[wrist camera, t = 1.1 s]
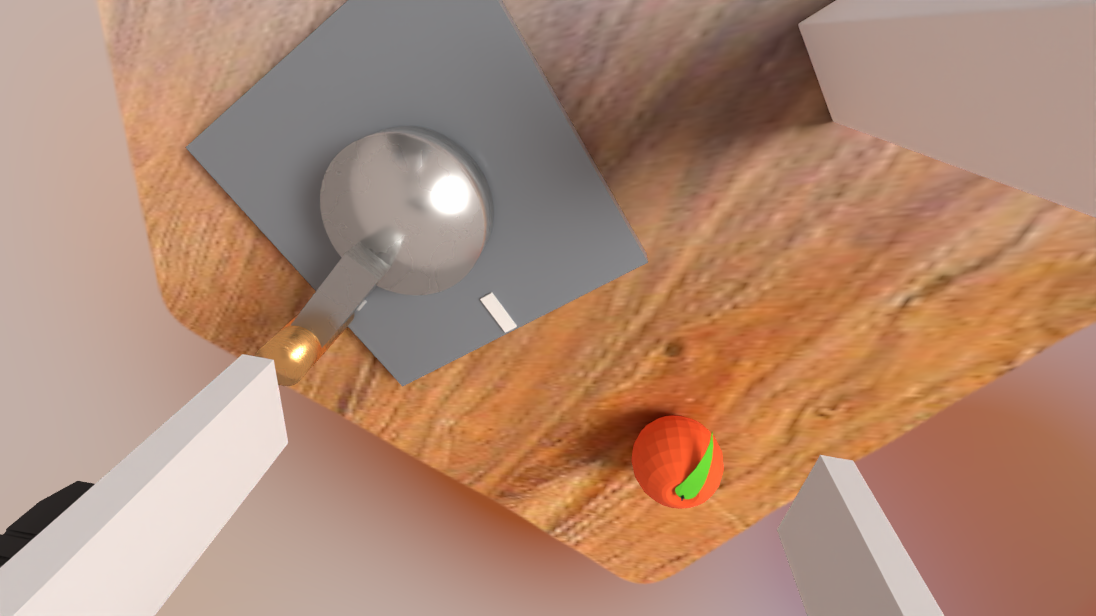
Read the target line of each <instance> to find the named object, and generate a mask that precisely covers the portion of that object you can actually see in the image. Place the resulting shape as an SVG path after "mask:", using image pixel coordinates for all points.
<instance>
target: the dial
mask: <svg viewBox="0 0 1096 616" xmlns="http://www.w3.org/2000/svg"><path fill="white" fill-rule="evenodd" d="M320 208H321V215H322V220H323V224H324V227H325V229H326V232H327V234H328V237H329V239H330V241H331V243H332V244H333V246H334V248H335V249H336V251H337V252H338V254H339V255H340V256H341V257H342V258H341V260H340V261H339V262H338V263H337V265H336V266H335V267H334V269H333V270H332V271H331V273H330V274H329V275H328V277H327V278H326V279H325V280H324V282H323V283H322V284H321V286H320V287H319V288H318V290H317V291H316V292H315V294H314V295H313V296H312V298H311V299H310V300H309V301H308V303H307V304H306V305H305V307H304V308H303V309H302V311H301V312H300V313H299V314H298V315H297V316H296V317H294V318H293V319H292V320H291V321H290V322H289V323H288V324H287V325H286V326H285V327H283V328H282V329H281V330H280V331H279V332H278V333H277V334H276V335H275V336H273V337H272V338H271V339H270V340H269V341H268V342H267V343H266V344H265V345H263V346H262V347H261V348H260V349H259V350H258V351H257V353H256V354H255V357H261V358H267V359H272V360H274V364H275V370H276V376H277V382H278V385H283V386H291V385H294V384H296V383H298V382H299V381H300V380H301V379H302V378H303V376H304V375H305V374H306V373H307V372H308V371H309V370H310V369H311V367H312V366H313V365H314V364H315V363H316V362H317V361H318V360H319V358H320V357H321V356H322V355H323V354H324V353H325V352H326V350H327V349H328V348H329V347H330V346H331V345H332V344H333V343H334V341H335V340H336V339H337V338H338V337H339V336H340V335H341V334H342V332H343V331H344V330H345V329H346V328H347V327H348V326H349V325H350V323H351V322H352V321H353V319H354V312H355V311H356V310H357V309H358V307H359V306H360V305H361V304H362V303H363V302H364V300H365V299H366V298H367V297H368V296H369V294H370V293H371V292H372V291H373V290H374V288H375V287H376V286H378V287H381V288H383V289H385V290H388V291H392V292H395V293H399V294H405V295H428V294H434V293H437V292H441V291H444V290H446V289H448V288H450V287H452V286H454V285H455V284H457V283H458V282H459V281H461V280H462V279H463V278H464V277H465V276H466V275H467V274H468V273H469V271H470V270H471V269H472V268H473V266H474V264H475V263H476V261H477V259H478V257H479V256H480V254H481V252H482V250H483V249H484V247H485V245H486V243H487V241H488V239H489V236H490V234H491V230H492V226H493V218H494V207H493V200H492V194H491V191H490V188H489V185H488V182H487V180H486V178H485V176H484V174H483V172H482V170H481V169H480V167H479V166H478V164H477V163H476V162H475V160H474V159H473V158H472V157H471V156H470V155H469V153H468V152H467V151H466V150H465V149H463V148H462V147H461V146H460V145H459V144H457V143H456V142H455V141H453V140H451V139H450V138H448V137H447V136H445V135H443V134H441V133H438V132H436V131H433V130H430V129H427V128H423V127H417V126H395V127H391V128H387V129H383V130H381V131H379V132H376V133H374V134H371V135H369V136H367V137H364V138H362V139H359V140H357V141H355V142H353V143H351V144H350V145H348V146H347V147H345V148H344V149H343V150H342V151H341V152H339V153H338V154H337V155H336V157H335V158H334V159H333V160H332V162H331V163H330V165H329V167H328V169H327V170H326V173H325V175H324V178H323V181H322V186H321V191H320Z"/></svg>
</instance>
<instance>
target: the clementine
mask: <svg viewBox="0 0 1096 616" xmlns="http://www.w3.org/2000/svg"><path fill="white" fill-rule="evenodd" d="M632 465H633V470H634V474H635V478H636V479H637V481H638V482H639V484H640V486H641V487H642V489H643V490H644V492H645V493H646V494H647V495H649V496H650V497H651V498H652V499H654V500H655V501H656V502H658V503H660V504H662V505H664V506H667V507H671V508H680V509H681V508H690V507H694V506H698V505H700V504H702V503H704V502H705V501H706V500H708V499H709V498H710V497H711V496H712V495H713V494H714V492H715V491H716V490H717V488H718V487H719V485H720V481H721V478H722V474H723V470H724V467H723V457H722V451H721V449H720V447H719V445H718V443H717V441H716V439H715V437H714V436H713V433H711V432H710V431H709V430H708V429H706V428H705V427H704V426H703V425H702V424H701V423H699V422H697V421H695V420H693V419H690V418H686V417H683V416H675V415H672V416H664V417H661V418H658V419H656V420H655V421H653V422H651V423H649V424H648V425H646V426H645V427H644V428H643V429H642V430H641V432H640V434H639V435H638V437H637V439H636V441H635V443H634V446H633V453H632Z"/></svg>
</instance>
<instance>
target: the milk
mask: <svg viewBox="0 0 1096 616" xmlns="http://www.w3.org/2000/svg"><path fill="white" fill-rule="evenodd" d="M798 26H799V29H800V32H801V35H802V37H803V40H804V43H805V46H806V48H807V51H808V54H809V57H810V59H811V62H812V65H813V68H814V71H815V73H816V76H817V79H818V82H819V84H820V87H821V90H822V93H823V96H824V98H825V101H826V104H827V107H828V109H829V112H830V115H831V118H832V120H833V122H835V123H838V124H840V125H843V126H846V127H849V128H851V129H854V130H857V131H860V132H862V133H865V134H868V135H871V136H873V137H876V138H879V139H882V140H884V141H887V142H890V143H893V144H895V145H898V146H901V147H903V148H906V149H909V150H912V151H914V152H917V153H920V154H923V155H925V156H928V157H931V158H934V159H936V160H939V161H942V162H945V163H947V164H950V165H953V166H956V167H958V168H961V169H964V170H967V171H969V172H972V173H975V174H977V175H980V176H983V177H986V178H988V179H991V180H994V181H997V182H999V183H1002V184H1005V185H1008V186H1010V187H1013V188H1016V189H1019V190H1021V191H1024V192H1027V193H1030V194H1032V195H1035V196H1038V197H1040V198H1043V199H1046V200H1049V201H1051V202H1054V203H1057V204H1060V205H1062V206H1065V207H1068V208H1071V209H1073V210H1076V211H1079V212H1082V213H1084V214H1087V215H1090V216H1093V217H1095V218H1096V0H836V1H834V2H832V3H831V4H829V5H828V6H826V7H824V8H823V9H821V10H819V11H818V12H816V13H815V14H813V15H811V16H810V17H808V18H807V19H805V20H803V21H802V22H800V23H799V24H798Z"/></svg>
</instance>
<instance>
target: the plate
mask: <svg viewBox="0 0 1096 616" xmlns="http://www.w3.org/2000/svg"><path fill="white" fill-rule="evenodd" d="M395 126H417V127H423V128H427V129H430V130H433V131H436V132H438V133H441V134H443V135H445V136H447V137H448V138H450V139H451V140H453V141H455V142H456V143H457V144H459V145H460V146H461V147H462V148H463V149H465V150H466V151H467V152H468V153H469V155H470V156H471V157H472V158H473V159H474V160H475V162H476V163H477V164H478V166H479V167H480V169H481V170H482V172H483V174H484V176H485V178H486V180H487V182H488V185H489V188H490V191H491V194H492V200H493V207H494V218H493V226H492V230H491V234H490V236H489V239H488V241H487V243H486V245H485V247H484V249H483V250H482V252H481V254H480V256H479V257H478V259H477V261H476V263H475V264H474V266H473V268H472V269H471V270H470V271H469V273H468V274H467V275H466V276H465V277H464V278H463V279H462V280H461V281H459V282H458V283H457V284H455V285H454V286H452V287H450V288H448V289H446V290H444V291H441V292H437V293H434V294H428V295H405V294H399V293H395V292H392V291H388V290H385V289H383V288H381V287H378V286H376V287H375V288H374V290H373V291H372V292H371V293H370V294H369V296H368V297H367V298H366V299H365V300H364V302H363V303H362V304H361V305H360V306H359V307H358V309H357V310H356V311H355V312H354V319H353V321H352V322H351V323H350V325H349V326H348V327H349V328H350V329H351V330H352V331H353V332H354V334H355V335H356V336H357V337H358V338H359V339H360V340H361V341H362V342H363V343H364V345H365V346H366V347H367V348H368V349H369V350H370V351H371V352H372V353H373V354H374V356H375V357H376V358H377V359H378V360H379V361H380V362H381V363H382V364H383V365H384V367H385V368H386V369H387V370H388V371H389V372H390V373H391V374H392V375H393V376H394V378H395V379H396V380H397V381H398V382H399V383H400V384H401V385H402V386H404V385H406V384H408V383H410V382H412V381H414V380H416V379H418V378H420V377H422V376H424V375H426V374H428V373H430V372H432V371H434V370H436V369H438V368H440V367H442V366H444V365H446V364H448V363H450V362H452V361H454V360H456V359H458V358H460V357H462V356H464V355H466V354H468V353H470V352H472V351H474V350H476V349H478V348H480V347H481V346H483V345H485V344H487V343H489V342H491V341H493V340H495V339H497V338H499V337H501V336H503V335H505V334H507V333H509V332H511V331H513V330H515V329H517V328H519V327H521V326H523V325H525V324H527V323H529V322H531V321H533V320H535V319H537V318H539V317H541V316H543V315H545V314H547V313H549V312H551V311H553V310H555V309H557V308H559V307H561V306H563V305H565V304H567V303H569V302H571V301H573V300H575V299H576V298H578V297H580V296H582V295H584V294H586V293H588V292H590V291H592V290H594V289H596V288H598V287H600V286H602V285H604V284H606V283H608V282H610V281H612V280H614V279H616V278H618V277H620V276H622V275H624V274H626V273H628V272H630V271H632V270H634V269H636V268H638V267H640V266H642V265H644V264H646V263H648V259H647V254H646V252H645V250H644V248H643V247H642V245H641V243H640V241H639V240H638V238H637V236H636V234H635V233H634V231H633V229H632V227H631V226H630V224H629V222H628V220H627V219H626V217H625V215H624V213H623V212H622V210H621V208H620V206H619V205H618V203H617V201H616V199H615V198H614V196H613V194H612V192H611V191H610V189H609V187H608V185H607V184H606V182H605V180H604V178H603V177H602V175H601V173H600V171H599V170H598V168H597V166H596V164H595V163H594V161H593V159H592V157H591V156H590V154H589V152H588V150H587V149H586V147H585V145H584V143H583V142H582V140H581V138H580V136H579V135H578V133H577V131H576V129H575V128H574V126H573V124H572V122H571V121H570V119H569V117H568V115H567V114H566V112H565V110H564V108H563V107H562V105H561V103H560V101H559V100H558V98H557V96H556V94H555V93H554V91H553V89H552V87H551V86H550V84H549V82H548V80H547V79H546V77H545V75H544V73H543V72H542V70H541V68H540V66H539V65H538V63H537V61H536V59H535V58H534V56H533V54H532V52H531V51H530V49H529V47H528V45H527V44H526V42H525V40H524V38H523V37H522V35H521V33H520V31H519V29H518V28H517V26H516V24H515V22H514V21H513V19H512V17H511V15H510V14H509V12H508V10H507V8H506V7H505V5H504V3H503V1H502V0H348V1H347V2H346V3H344V4H343V5H342V6H341V7H340V8H339V9H338V10H337V11H336V12H335V13H333V14H332V15H331V16H330V17H329V18H328V19H327V20H326V21H325V22H323V23H322V24H321V25H320V26H319V27H318V28H317V29H316V30H315V31H314V32H312V33H311V34H310V35H309V36H308V37H307V38H306V39H305V40H304V41H303V42H301V43H300V44H299V45H298V46H297V47H296V48H295V49H294V50H293V51H291V52H290V53H289V54H288V55H287V56H286V57H285V58H284V59H283V60H282V61H280V62H279V63H278V64H277V65H276V66H275V67H274V68H273V69H272V70H271V71H269V72H268V73H267V74H266V75H265V76H264V77H263V78H262V79H261V80H259V81H258V82H257V83H256V84H255V85H254V86H253V87H252V88H251V89H250V90H248V91H247V92H246V93H245V94H244V95H243V96H242V97H241V98H240V99H238V100H237V101H236V102H235V103H234V104H233V105H232V106H231V107H230V108H229V109H227V110H226V111H225V112H224V113H223V114H222V115H221V116H220V117H219V118H218V119H216V120H215V121H214V122H213V123H212V124H211V125H210V126H209V127H208V128H206V129H205V130H204V131H203V132H202V133H201V134H200V135H199V136H198V137H197V138H195V139H194V140H193V141H192V142H191V143H190V144H189V145H188V146H187V147H186V148H187V150H188V151H189V152H190V153H191V154H192V155H193V156H194V157H195V158H196V159H197V161H198V162H199V163H200V164H201V165H202V166H203V167H204V168H205V169H206V170H207V172H208V173H209V174H210V175H211V176H212V177H213V178H214V179H215V180H216V181H217V183H218V184H219V185H220V186H221V187H222V188H223V189H224V190H225V191H226V193H227V194H228V195H229V196H230V197H231V198H232V199H233V200H234V201H235V202H236V204H237V205H238V206H239V207H240V208H241V209H242V210H243V211H244V212H245V213H246V215H247V216H248V217H249V218H250V219H251V220H252V221H253V222H254V223H255V224H256V226H257V227H258V228H259V229H260V230H261V231H262V232H263V233H264V234H265V235H266V237H267V238H268V239H269V240H270V241H271V242H272V243H273V244H274V245H275V246H276V248H277V249H278V250H279V251H280V252H281V253H282V254H283V255H284V256H285V258H286V259H287V260H288V261H289V262H290V263H291V264H292V265H293V266H294V267H295V269H296V270H297V271H298V272H299V273H300V274H301V275H302V276H303V277H304V278H305V280H306V281H307V282H308V283H309V284H310V285H311V286H312V287H313V288H314V289H315V291H317V290H318V288H319V287H320V286H321V284H322V283H323V282H324V280H325V279H326V278H327V277H328V275H329V274H330V273H331V271H332V270H333V269H334V267H335V266H336V265H337V263H338V262H339V261H340V260H341V258H342V257H341V256H340V255H339V254H338V252H337V251H336V249H335V248H334V246H333V244H332V243H331V241H330V239H329V237H328V234H327V232H326V229H325V227H324V224H323V220H322V215H321V208H320V191H321V186H322V181H323V178H324V175H325V173H326V170H327V169H328V167H329V165H330V163H331V162H332V160H333V159H334V158H335V157H336V155H337V154H338V153H339V152H341V151H342V150H343V149H344V148H345V147H347V146H348V145H350V144H351V143H353V142H355V141H357V140H359V139H362V138H364V137H367V136H369V135H371V134H374V133H376V132H379V131H381V130H383V129H387V128H391V127H395Z"/></svg>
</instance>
